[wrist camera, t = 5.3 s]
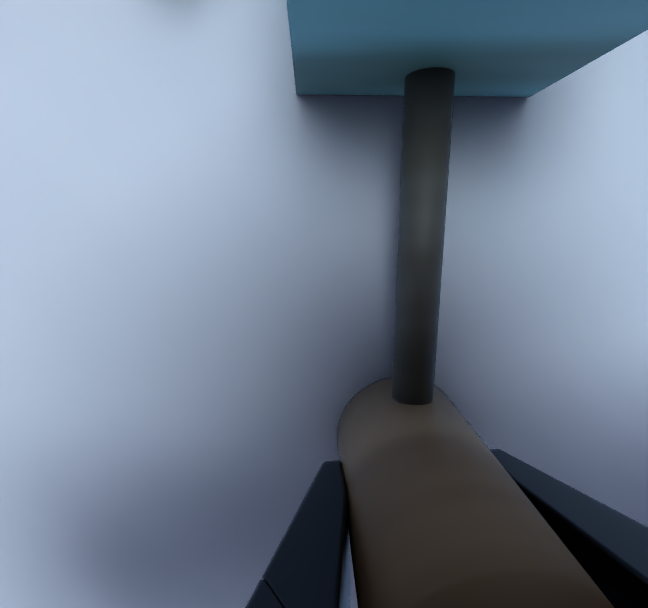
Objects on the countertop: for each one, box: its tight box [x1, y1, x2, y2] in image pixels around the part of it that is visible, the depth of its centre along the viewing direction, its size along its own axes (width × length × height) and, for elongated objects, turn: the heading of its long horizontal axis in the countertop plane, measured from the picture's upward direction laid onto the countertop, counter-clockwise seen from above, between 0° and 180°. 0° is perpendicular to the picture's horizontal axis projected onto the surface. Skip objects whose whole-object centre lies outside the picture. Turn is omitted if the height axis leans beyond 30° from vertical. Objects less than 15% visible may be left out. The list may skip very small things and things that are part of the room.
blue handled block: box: [287, 0, 648, 608], centre depth 6 cm, size 15×5×5 cm, turn 0°
